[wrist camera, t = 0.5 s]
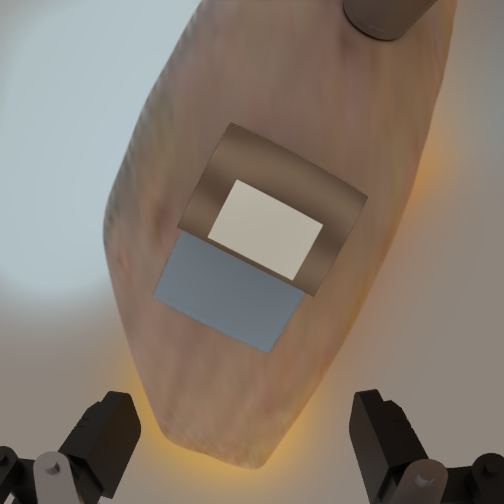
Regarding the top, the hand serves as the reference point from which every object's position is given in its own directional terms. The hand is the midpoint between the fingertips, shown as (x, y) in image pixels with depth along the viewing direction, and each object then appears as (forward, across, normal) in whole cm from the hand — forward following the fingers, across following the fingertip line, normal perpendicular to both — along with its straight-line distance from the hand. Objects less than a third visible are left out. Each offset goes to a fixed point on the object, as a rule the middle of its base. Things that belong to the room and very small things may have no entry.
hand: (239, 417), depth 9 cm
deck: (+26, -2, -5) cm, 27 cm away
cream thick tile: (+22, -1, -4) cm, 23 cm away
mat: (+26, +4, +5) cm, 27 cm away
